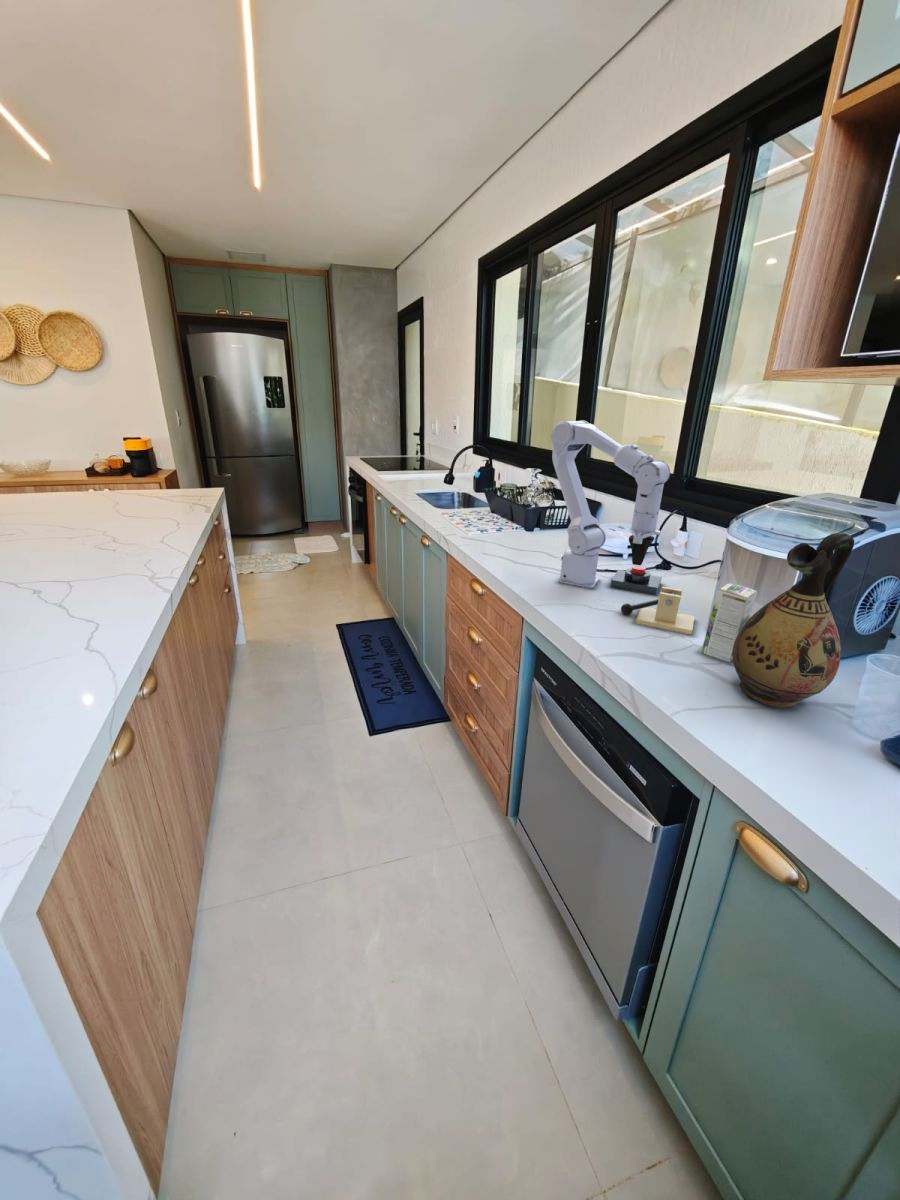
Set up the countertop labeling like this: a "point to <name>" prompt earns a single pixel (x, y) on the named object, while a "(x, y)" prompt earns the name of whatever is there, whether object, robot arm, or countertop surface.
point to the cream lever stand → (667, 613)
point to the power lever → (639, 605)
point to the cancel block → (636, 582)
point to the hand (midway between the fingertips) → (637, 564)
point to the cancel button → (638, 570)
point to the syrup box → (728, 620)
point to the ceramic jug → (794, 631)
